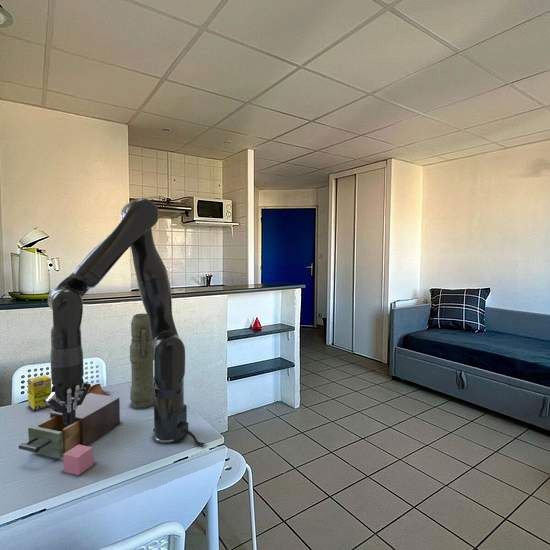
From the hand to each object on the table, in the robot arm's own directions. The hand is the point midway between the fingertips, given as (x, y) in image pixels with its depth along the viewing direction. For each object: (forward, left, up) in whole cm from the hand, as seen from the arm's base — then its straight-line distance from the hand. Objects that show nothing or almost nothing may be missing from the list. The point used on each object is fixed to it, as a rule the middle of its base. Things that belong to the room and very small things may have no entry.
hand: (69, 423), depth 95 cm
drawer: (+11, -6, -11) cm, 17 cm away
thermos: (+7, -39, -12) cm, 42 cm away
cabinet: (+11, -16, -12) cm, 23 cm away
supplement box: (+42, -25, -12) cm, 50 cm away
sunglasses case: (+32, -34, -12) cm, 48 cm away
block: (-2, 0, -12) cm, 13 cm away
